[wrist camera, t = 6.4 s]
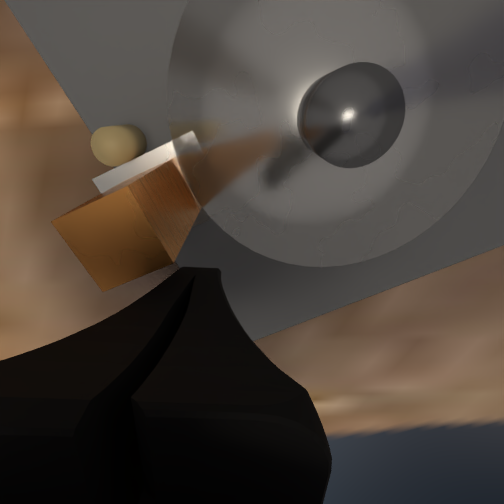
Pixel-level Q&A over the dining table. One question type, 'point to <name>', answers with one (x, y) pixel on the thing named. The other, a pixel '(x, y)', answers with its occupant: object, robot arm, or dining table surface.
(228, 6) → the lidded saucepan
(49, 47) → the base plate
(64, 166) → the dining table surface
